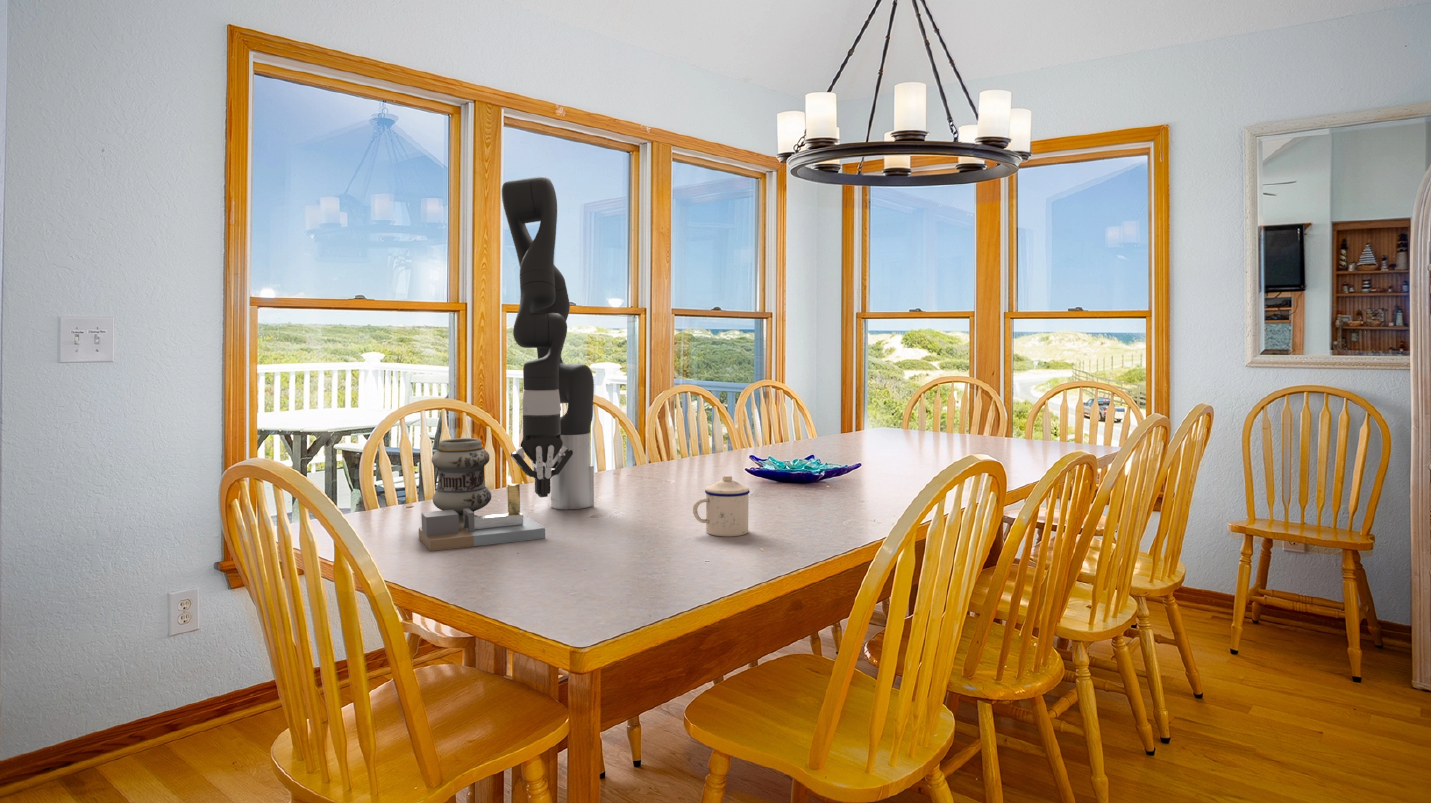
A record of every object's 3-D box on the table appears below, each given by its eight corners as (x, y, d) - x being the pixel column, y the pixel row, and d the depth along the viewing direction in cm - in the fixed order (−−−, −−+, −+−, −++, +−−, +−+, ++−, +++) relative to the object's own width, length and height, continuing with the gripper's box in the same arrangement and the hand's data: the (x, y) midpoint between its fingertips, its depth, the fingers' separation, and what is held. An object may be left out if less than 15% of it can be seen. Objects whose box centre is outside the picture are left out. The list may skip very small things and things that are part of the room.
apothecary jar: (450, 516, 197) (448, 435, 195) (501, 519, 194) (500, 437, 193) (421, 528, 185) (419, 442, 183) (475, 531, 182) (474, 444, 181)
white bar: (519, 521, 182) (519, 483, 181) (523, 524, 180) (522, 484, 179) (470, 527, 177) (469, 487, 176) (473, 529, 175) (472, 489, 174)
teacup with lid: (737, 525, 188) (738, 470, 187) (757, 534, 180) (757, 477, 179) (684, 530, 184) (684, 474, 183) (702, 540, 175) (702, 481, 174)
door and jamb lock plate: (527, 526, 187) (527, 499, 187) (545, 538, 177) (544, 509, 176) (418, 537, 177) (418, 509, 177) (430, 550, 167) (429, 520, 166)
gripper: (566, 409, 187) (567, 490, 189) (504, 411, 181) (505, 496, 182) (579, 412, 181) (579, 496, 182) (514, 414, 174) (515, 502, 176)
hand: (542, 496), depth 182 cm, fingers closed
